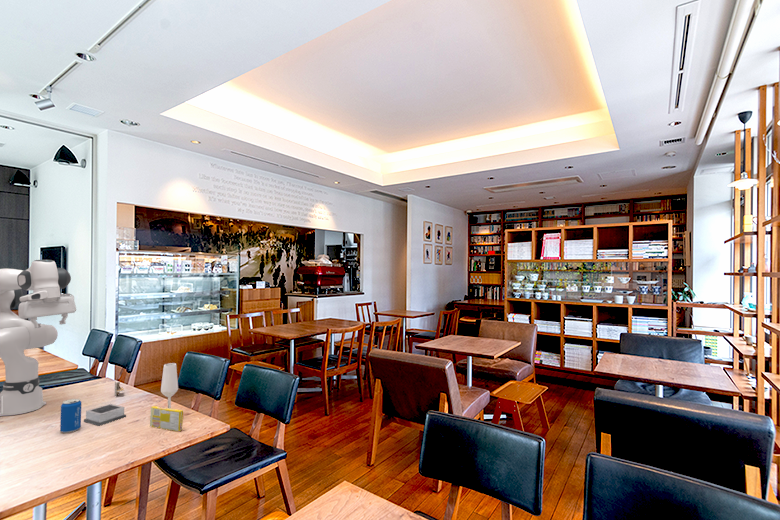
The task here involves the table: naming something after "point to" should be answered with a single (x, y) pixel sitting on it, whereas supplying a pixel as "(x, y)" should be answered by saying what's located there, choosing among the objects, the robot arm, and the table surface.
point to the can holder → (104, 414)
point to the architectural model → (118, 388)
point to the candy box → (166, 418)
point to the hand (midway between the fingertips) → (50, 326)
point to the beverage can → (70, 415)
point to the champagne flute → (169, 381)
